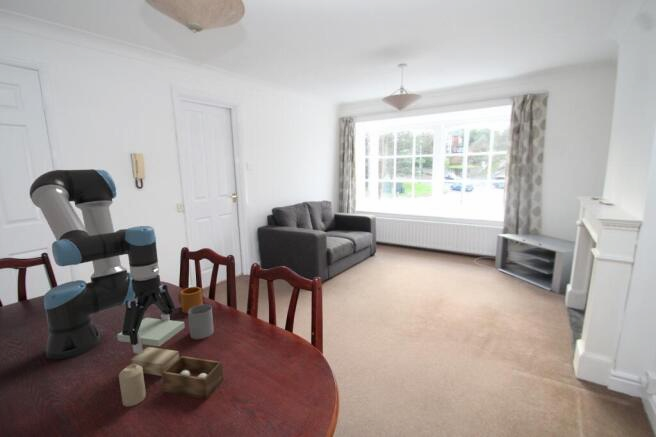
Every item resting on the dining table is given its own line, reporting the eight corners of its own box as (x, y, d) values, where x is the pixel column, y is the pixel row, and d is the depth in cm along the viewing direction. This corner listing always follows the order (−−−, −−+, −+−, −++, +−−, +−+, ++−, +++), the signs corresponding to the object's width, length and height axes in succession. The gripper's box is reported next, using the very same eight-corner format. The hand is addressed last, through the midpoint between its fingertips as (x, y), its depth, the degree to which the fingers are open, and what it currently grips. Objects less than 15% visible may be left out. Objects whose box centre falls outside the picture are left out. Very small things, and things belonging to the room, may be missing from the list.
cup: (205, 340, 113) (203, 315, 111) (185, 338, 114) (183, 313, 113) (217, 328, 121) (215, 305, 119) (199, 326, 123) (197, 303, 121)
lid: (118, 340, 92) (117, 334, 92) (146, 323, 103) (146, 317, 103) (159, 346, 89) (158, 340, 89) (184, 327, 100) (184, 321, 99)
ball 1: (176, 383, 88) (175, 374, 88) (184, 376, 92) (183, 367, 91) (186, 385, 88) (185, 375, 87) (193, 378, 91) (192, 368, 90)
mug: (190, 301, 146) (189, 284, 145) (207, 307, 140) (206, 289, 139) (173, 308, 139) (172, 290, 137) (189, 315, 132) (188, 295, 131)
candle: (129, 392, 87) (125, 361, 85) (149, 391, 87) (145, 360, 85) (118, 407, 81) (113, 374, 80) (139, 406, 82) (135, 373, 80)
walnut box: (164, 391, 87) (162, 372, 86) (183, 373, 95) (181, 355, 94) (206, 399, 84) (205, 379, 83) (223, 379, 91) (221, 361, 90)
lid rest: (131, 370, 96) (130, 359, 95) (149, 357, 103) (148, 346, 102) (163, 376, 93) (162, 364, 93) (179, 362, 100) (178, 351, 99)
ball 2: (194, 387, 87) (193, 377, 87) (201, 379, 90) (200, 369, 90) (204, 388, 86) (203, 378, 86) (211, 381, 89) (210, 371, 89)
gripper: (121, 292, 81) (132, 366, 84) (182, 265, 103) (188, 324, 107) (99, 290, 83) (110, 363, 86) (163, 264, 105) (170, 322, 109)
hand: (153, 341), depth 96 cm, fingers closed on lid, 11 cm apart
